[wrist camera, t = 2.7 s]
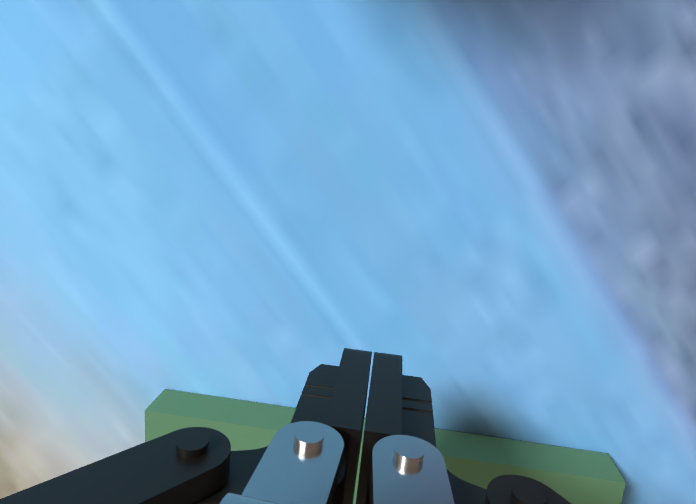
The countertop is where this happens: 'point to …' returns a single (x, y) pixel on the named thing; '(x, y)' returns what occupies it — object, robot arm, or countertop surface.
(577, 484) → the putting board
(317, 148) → the countertop surface
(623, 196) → the countertop surface
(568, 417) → the countertop surface
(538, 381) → the countertop surface
